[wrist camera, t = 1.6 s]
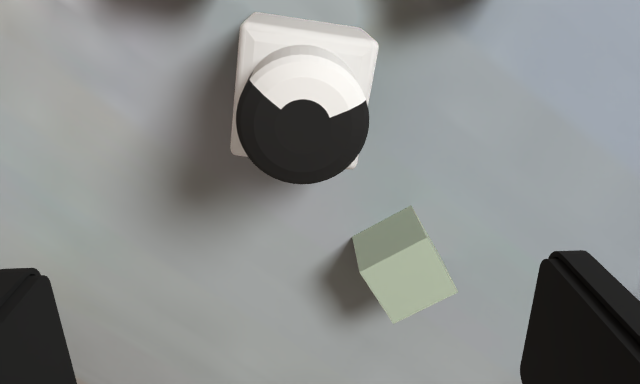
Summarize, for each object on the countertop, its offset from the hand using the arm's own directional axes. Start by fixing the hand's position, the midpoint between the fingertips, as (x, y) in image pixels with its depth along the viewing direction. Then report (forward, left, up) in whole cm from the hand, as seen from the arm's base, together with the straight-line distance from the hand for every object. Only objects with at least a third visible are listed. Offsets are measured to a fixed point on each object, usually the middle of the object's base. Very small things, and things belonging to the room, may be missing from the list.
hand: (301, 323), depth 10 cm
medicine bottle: (0, 0, -26) cm, 26 cm away
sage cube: (-7, +13, -26) cm, 30 cm away
